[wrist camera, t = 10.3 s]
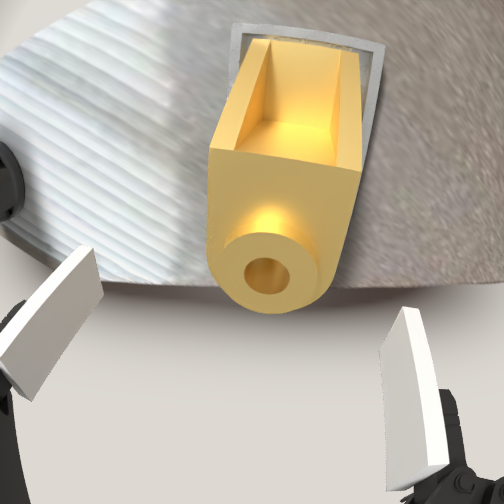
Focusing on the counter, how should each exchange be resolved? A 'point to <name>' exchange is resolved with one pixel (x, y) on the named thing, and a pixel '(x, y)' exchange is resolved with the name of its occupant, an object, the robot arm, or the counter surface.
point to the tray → (367, 50)
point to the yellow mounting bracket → (284, 174)
